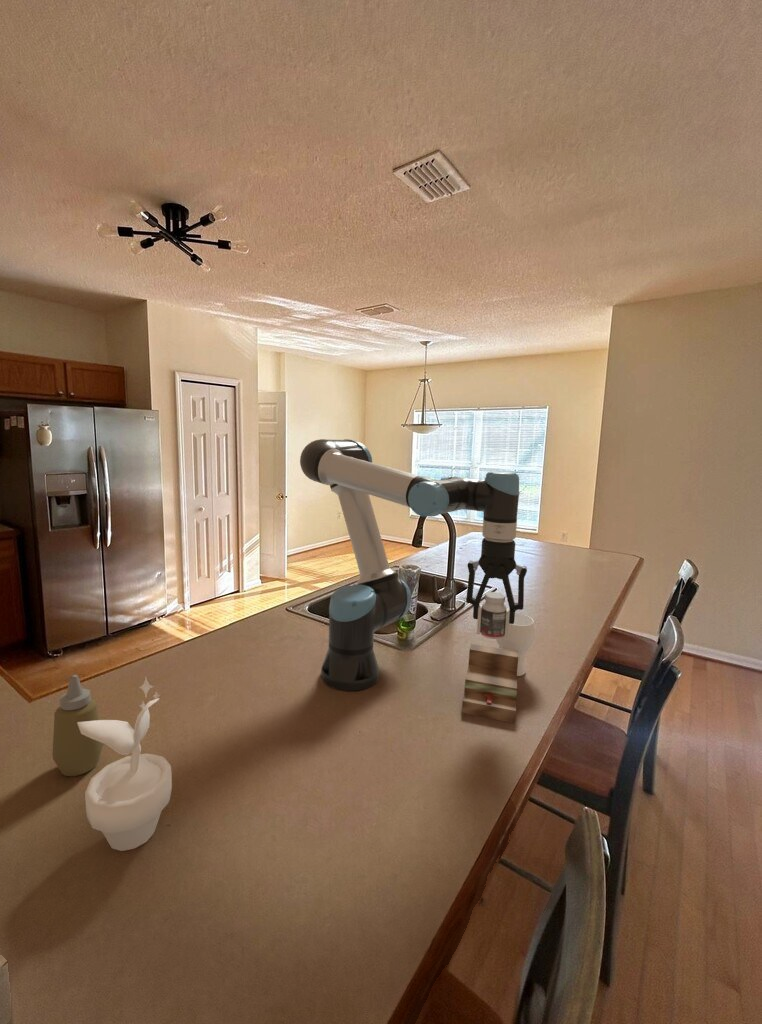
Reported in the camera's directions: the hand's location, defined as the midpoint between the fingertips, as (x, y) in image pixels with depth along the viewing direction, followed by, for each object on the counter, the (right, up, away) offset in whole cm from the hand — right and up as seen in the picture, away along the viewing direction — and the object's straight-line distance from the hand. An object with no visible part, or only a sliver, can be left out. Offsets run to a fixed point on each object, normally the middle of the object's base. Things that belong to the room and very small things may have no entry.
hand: (492, 633), depth 110 cm
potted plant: (-66, -21, -38) cm, 79 cm away
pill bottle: (0, -1, 0) cm, 1 cm away
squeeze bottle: (-83, -18, -24) cm, 88 cm away
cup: (+10, -15, +19) cm, 26 cm away
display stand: (0, -17, +4) cm, 17 cm away
